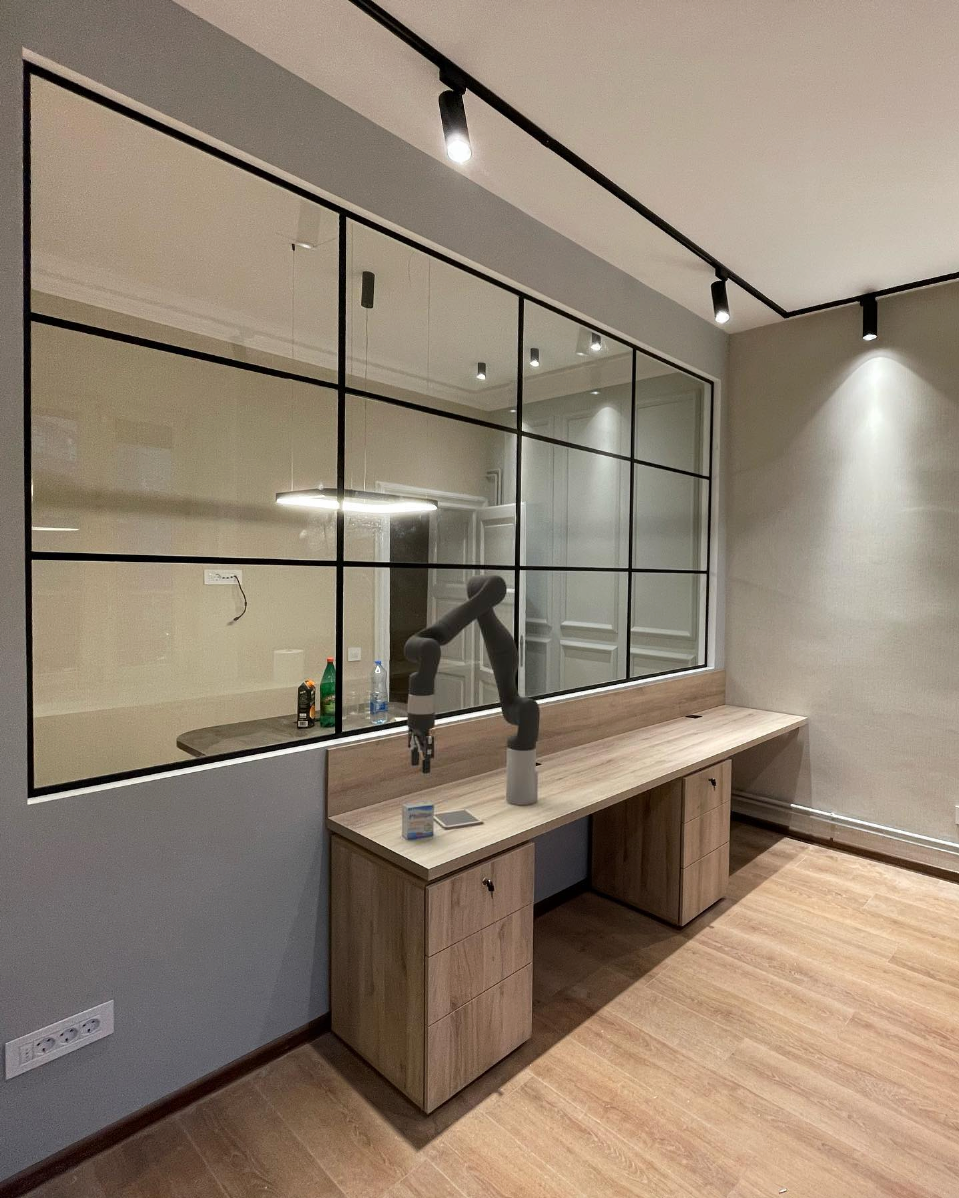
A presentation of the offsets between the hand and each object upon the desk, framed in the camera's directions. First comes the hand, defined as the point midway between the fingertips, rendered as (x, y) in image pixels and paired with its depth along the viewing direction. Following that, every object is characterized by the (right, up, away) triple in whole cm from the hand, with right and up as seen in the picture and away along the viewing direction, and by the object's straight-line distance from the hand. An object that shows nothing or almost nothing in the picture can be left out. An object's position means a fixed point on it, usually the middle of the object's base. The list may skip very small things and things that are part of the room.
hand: (420, 769), depth 187 cm
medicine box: (-1, -19, 0) cm, 19 cm away
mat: (+9, -18, +13) cm, 24 cm away
